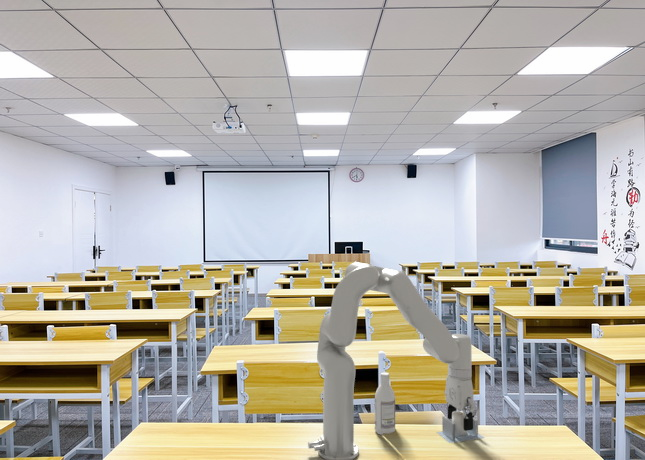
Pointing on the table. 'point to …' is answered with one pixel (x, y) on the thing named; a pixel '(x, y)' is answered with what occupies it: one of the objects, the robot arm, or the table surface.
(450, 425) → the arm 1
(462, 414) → the roll
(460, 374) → the robot arm
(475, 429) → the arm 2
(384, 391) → the bath foam
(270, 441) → the table surface
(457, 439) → the holder
